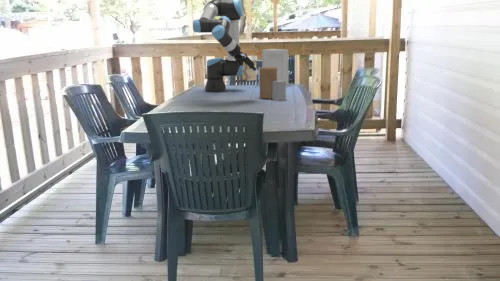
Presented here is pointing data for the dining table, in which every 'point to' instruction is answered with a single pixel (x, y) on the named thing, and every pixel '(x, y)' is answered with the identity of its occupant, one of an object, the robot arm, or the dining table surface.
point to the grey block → (279, 90)
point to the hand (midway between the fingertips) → (254, 72)
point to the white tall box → (276, 62)
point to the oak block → (248, 72)
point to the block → (267, 81)
